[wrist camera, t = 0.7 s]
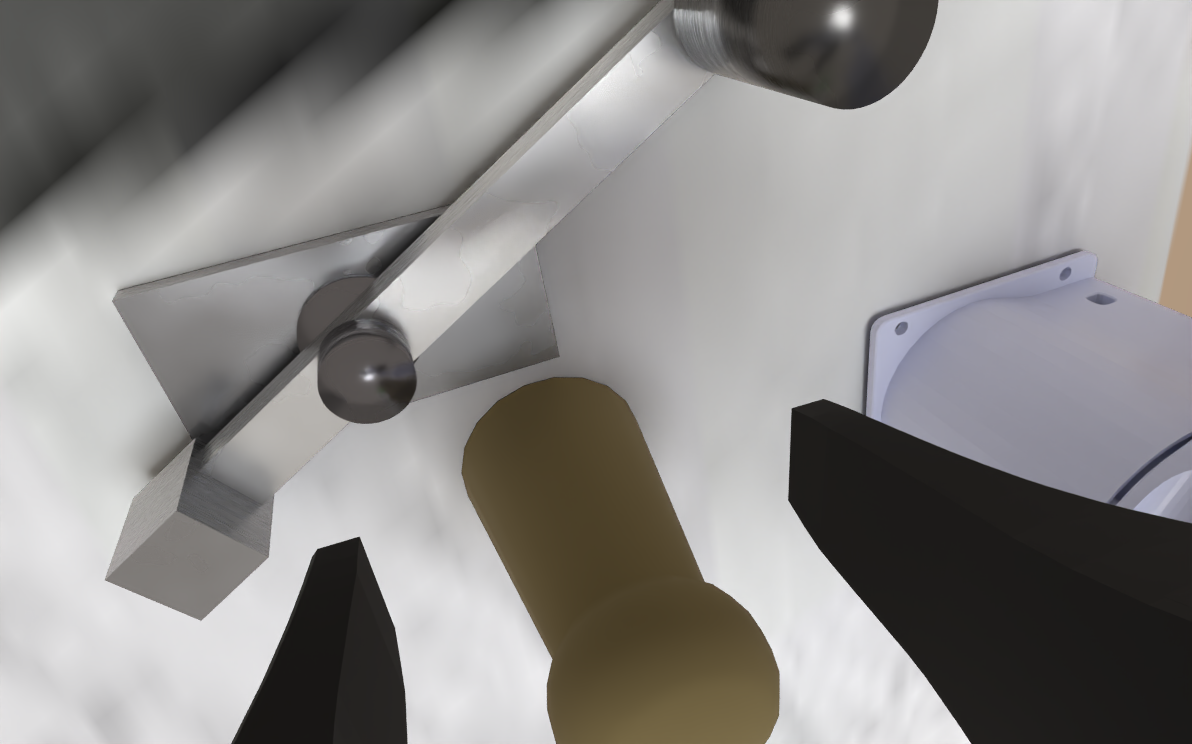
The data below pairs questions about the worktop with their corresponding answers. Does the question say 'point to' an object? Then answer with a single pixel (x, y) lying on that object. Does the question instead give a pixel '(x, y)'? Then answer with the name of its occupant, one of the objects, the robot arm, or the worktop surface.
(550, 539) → the cork
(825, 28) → the lever
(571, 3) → the worktop surface
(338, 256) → the base plate
